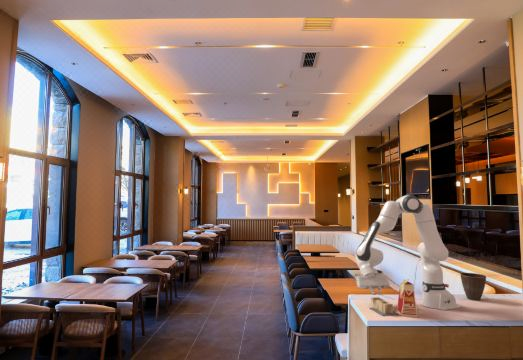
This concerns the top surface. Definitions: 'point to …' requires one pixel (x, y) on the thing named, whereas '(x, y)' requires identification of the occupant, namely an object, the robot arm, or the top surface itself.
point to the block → (382, 305)
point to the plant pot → (473, 285)
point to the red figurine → (407, 300)
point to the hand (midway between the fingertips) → (377, 294)
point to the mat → (382, 312)
